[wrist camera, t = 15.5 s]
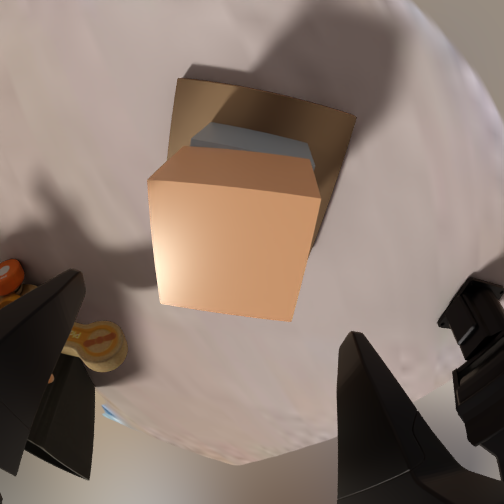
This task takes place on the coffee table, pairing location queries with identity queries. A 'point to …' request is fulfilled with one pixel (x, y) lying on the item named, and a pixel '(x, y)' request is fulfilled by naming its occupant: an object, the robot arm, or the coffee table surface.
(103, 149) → the coffee table surface
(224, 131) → the slate-blue block
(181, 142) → the walnut base plate
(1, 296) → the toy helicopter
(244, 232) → the terracotta block
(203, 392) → the coffee table surface
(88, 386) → the flower pot
